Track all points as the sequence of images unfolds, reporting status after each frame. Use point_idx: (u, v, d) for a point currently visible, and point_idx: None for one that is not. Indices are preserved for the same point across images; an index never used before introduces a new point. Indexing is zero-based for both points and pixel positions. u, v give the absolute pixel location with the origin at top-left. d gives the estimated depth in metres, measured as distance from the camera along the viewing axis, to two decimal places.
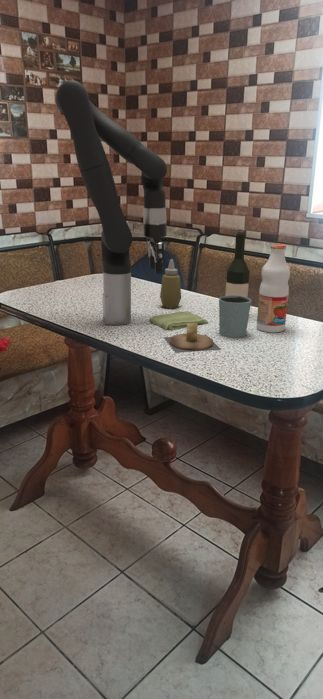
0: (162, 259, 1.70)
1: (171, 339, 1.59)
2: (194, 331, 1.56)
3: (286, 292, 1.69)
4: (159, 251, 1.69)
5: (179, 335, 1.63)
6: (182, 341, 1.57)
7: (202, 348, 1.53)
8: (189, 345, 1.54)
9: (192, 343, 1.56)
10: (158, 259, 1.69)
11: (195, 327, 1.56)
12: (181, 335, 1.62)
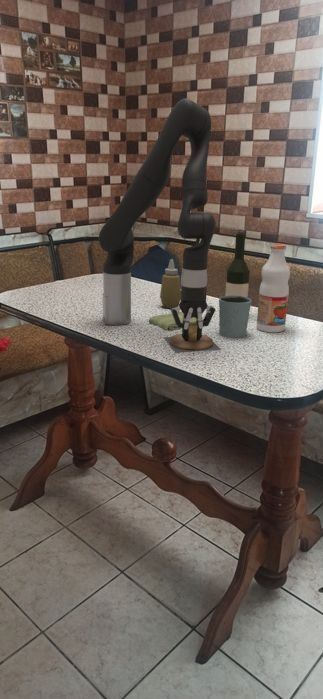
0: None
1: (171, 339, 1.59)
2: (194, 331, 1.56)
3: (286, 292, 1.69)
4: None
5: (179, 335, 1.63)
6: (182, 341, 1.57)
7: (202, 348, 1.53)
8: (189, 345, 1.54)
9: (192, 343, 1.56)
10: None
11: (195, 327, 1.56)
12: (181, 335, 1.62)
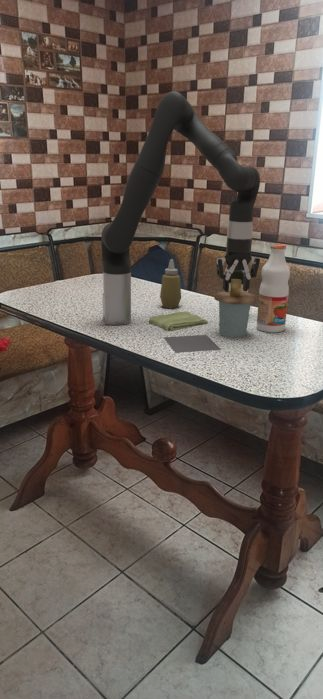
0: None
1: (215, 295, 1.65)
2: (238, 286, 1.62)
3: (286, 292, 1.69)
4: None
5: (222, 292, 1.69)
6: (226, 296, 1.63)
7: (247, 302, 1.59)
8: (234, 299, 1.60)
9: (236, 298, 1.62)
10: None
11: (239, 282, 1.62)
12: (224, 292, 1.69)
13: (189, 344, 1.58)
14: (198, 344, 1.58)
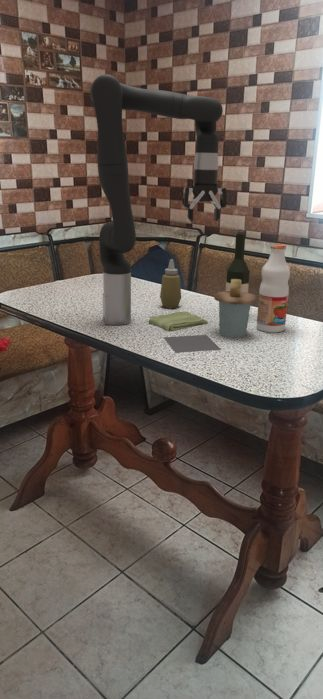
0: None
1: (215, 295, 1.65)
2: (238, 286, 1.62)
3: (286, 292, 1.69)
4: None
5: (222, 292, 1.69)
6: (226, 296, 1.63)
7: (247, 302, 1.59)
8: (234, 299, 1.60)
9: (236, 298, 1.62)
10: None
11: (239, 282, 1.62)
12: (224, 292, 1.69)
13: (189, 344, 1.58)
14: (198, 344, 1.58)
